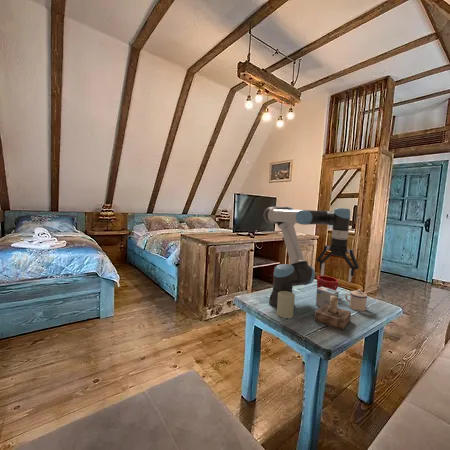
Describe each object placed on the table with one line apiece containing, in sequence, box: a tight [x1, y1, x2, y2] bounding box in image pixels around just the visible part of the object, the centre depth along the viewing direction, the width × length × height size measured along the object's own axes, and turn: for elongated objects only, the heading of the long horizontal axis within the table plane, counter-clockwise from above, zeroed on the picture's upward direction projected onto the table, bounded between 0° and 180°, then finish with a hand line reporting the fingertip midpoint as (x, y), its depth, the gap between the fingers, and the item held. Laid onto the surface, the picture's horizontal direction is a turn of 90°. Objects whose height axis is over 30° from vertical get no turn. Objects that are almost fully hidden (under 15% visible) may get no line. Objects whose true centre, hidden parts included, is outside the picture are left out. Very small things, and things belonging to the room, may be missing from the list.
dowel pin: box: [329, 296, 339, 314], centre depth 129 cm, size 4×4×12 cm
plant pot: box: [316, 275, 339, 291], centre depth 165 cm, size 13×13×12 cm
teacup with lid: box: [344, 288, 368, 312], centre depth 148 cm, size 12×9×12 cm
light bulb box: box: [315, 287, 340, 308], centre depth 147 cm, size 11×7×11 cm, turn 41°
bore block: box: [314, 304, 352, 331], centre depth 130 cm, size 14×14×5 cm
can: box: [275, 291, 296, 319], centre depth 135 cm, size 9×9×12 cm
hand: (335, 278), depth 128 cm, fingers open, 13 cm apart
